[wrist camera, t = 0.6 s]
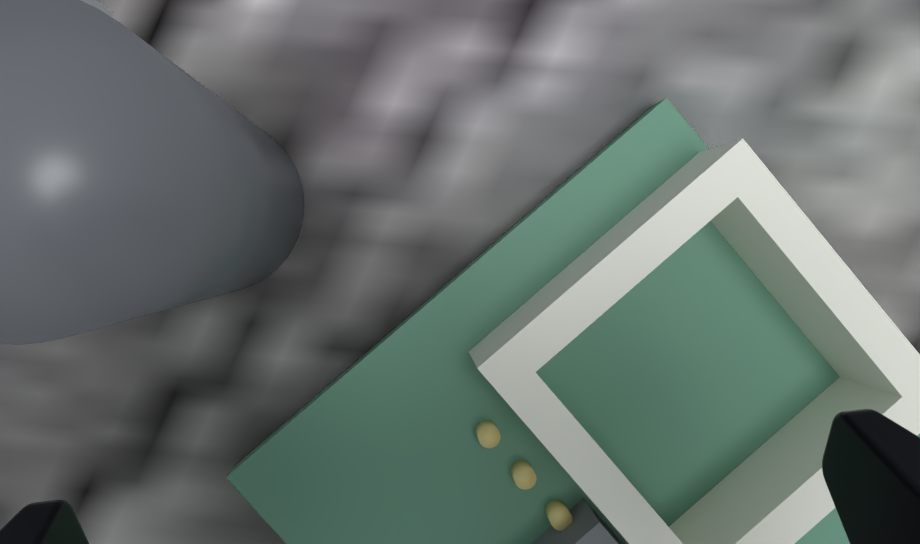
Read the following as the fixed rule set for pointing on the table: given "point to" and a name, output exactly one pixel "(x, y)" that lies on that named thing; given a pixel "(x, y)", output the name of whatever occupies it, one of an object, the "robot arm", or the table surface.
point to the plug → (123, 179)
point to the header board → (605, 374)
